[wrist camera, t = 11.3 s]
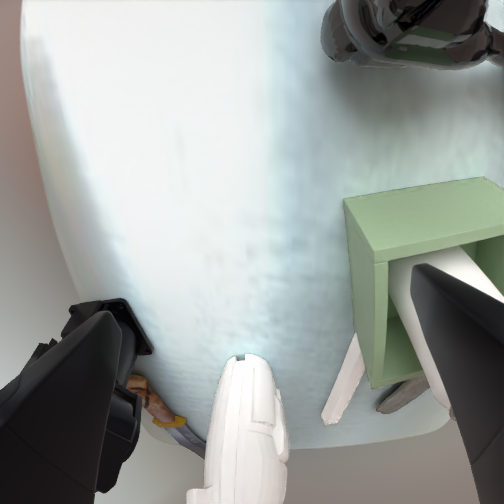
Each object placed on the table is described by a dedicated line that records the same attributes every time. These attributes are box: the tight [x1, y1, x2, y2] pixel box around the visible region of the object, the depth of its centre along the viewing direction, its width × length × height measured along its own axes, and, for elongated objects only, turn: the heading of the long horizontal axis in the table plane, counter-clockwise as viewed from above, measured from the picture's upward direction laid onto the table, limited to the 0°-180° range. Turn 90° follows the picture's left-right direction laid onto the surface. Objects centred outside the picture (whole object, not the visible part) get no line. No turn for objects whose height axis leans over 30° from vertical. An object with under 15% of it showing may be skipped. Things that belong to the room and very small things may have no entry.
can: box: [388, 245, 504, 421], centre depth 17 cm, size 6×6×12 cm
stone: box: [376, 375, 430, 414], centre depth 30 cm, size 12×2×5 cm
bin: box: [343, 177, 504, 389], centre depth 20 cm, size 12×12×7 cm
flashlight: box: [186, 354, 289, 504], centre depth 21 cm, size 7×18×7 cm
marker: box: [321, 331, 366, 427], centre depth 29 cm, size 3×2×16 cm
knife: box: [127, 374, 206, 460], centre depth 35 cm, size 25×1×5 cm
